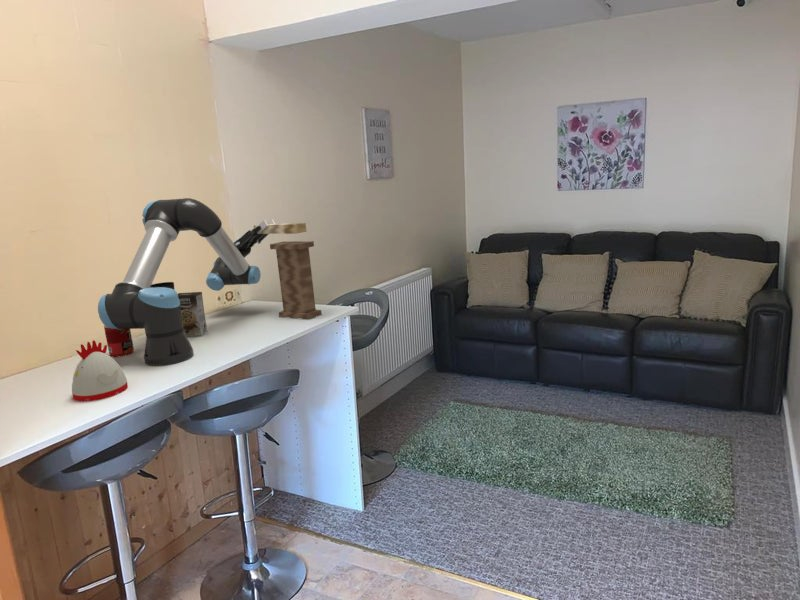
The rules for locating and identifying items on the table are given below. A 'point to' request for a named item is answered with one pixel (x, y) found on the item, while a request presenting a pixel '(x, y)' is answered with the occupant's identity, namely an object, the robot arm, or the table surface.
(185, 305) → the coffee box
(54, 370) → the table surface
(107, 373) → the kitchen timer
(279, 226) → the handle
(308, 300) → the pedestal
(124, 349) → the canned food
